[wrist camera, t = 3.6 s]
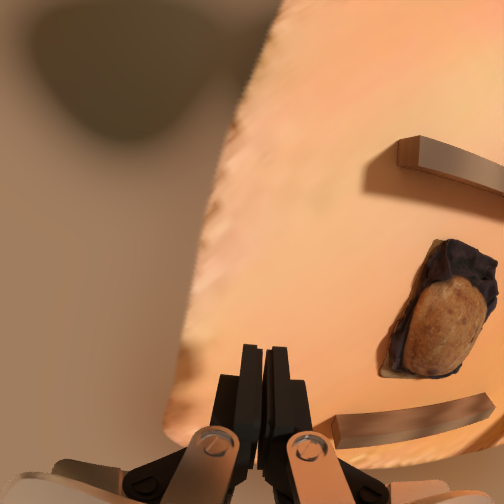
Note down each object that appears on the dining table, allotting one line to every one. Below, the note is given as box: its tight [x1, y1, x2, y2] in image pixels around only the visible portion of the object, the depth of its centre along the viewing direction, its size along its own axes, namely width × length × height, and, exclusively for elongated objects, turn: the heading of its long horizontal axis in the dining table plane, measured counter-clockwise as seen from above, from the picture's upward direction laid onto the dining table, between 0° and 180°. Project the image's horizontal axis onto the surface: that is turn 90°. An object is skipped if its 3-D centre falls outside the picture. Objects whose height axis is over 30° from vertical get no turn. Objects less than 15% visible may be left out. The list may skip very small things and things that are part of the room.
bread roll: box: [380, 239, 499, 379], centre depth 15 cm, size 11×8×4 cm
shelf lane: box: [331, 135, 504, 449], centre depth 14 cm, size 17×21×2 cm
